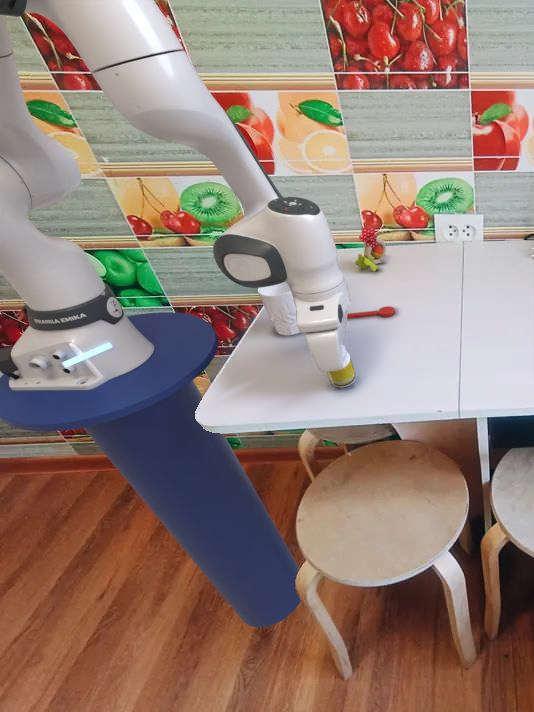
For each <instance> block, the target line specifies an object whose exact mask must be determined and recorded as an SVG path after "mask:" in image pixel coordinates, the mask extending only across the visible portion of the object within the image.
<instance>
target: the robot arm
mask: <svg viewBox="0 0 534 712" xmlns="http://www.w3.org/2000/svg"><path fill="white" fill-rule="evenodd" d="M24 14H37V15H39V16H41V17H43V18H45V19H47V20H49V21H50V22H52V23H53V24H54V25H55V26H56V27H58V28H59V29H60V30H61V32H63V33H64V35H65V36H66V37H67V38H68V40H69V41H70V43H71V44H72V46H73V47H74V48H75V50H76V51H77V53H78V55H79V56H80V58H81V60H82V61H83V63H84V64H85V65H86V68H87V69H88V71H89V72H90V73H91V74H92V77H93V78H94V80H95V81H96V83H97V85H98V86H99V87H100V89H101V91H102V92H103V93H104V95H105V97H106V98H107V99H108V100H109V102H110V104H111V105H112V106H113V107H114V108H115V109H116V111H117V112H118V113H119V114H120V115H121V116H122V118H124V119H125V120H126V121H127V122H128V123H129V124H130V125H131V126H132V127H134V128H135V129H137V130H138V131H140V132H142V133H144V134H146V135H148V136H150V137H153V138H155V139H158V140H161V141H164V142H170V143H173V144H180V145H183V146H186V147H189V148H191V149H194V150H196V151H198V152H199V153H201V154H203V155H204V156H205V157H206V158H207V159H209V161H211V163H212V164H213V165H214V166H215V168H216V169H217V171H218V172H219V174H220V175H221V177H222V178H223V179H224V181H225V182H226V184H227V185H228V186H229V188H230V189H231V191H232V192H233V194H234V195H235V196H236V198H237V199H238V201H239V202H240V204H241V205H242V208H243V217H242V218H241V219H239V221H237V222H234V223H233V224H232V225H231V226H229V227H228V228H227V229H225V230H224V231H223V232H222V233H221V234H220V235H219V236H218V237H217V238H216V240H215V241H214V243H213V247H212V253H213V259H214V262H215V264H216V266H217V267H218V269H220V271H221V273H222V274H223V275H224V276H225V277H226V278H227V279H228V280H230V281H231V282H233V283H235V284H237V285H239V286H242V287H245V288H248V289H258V288H261V287H267V286H273V285H277V284H281V283H283V282H285V283H287V284H288V285H289V287H290V290H291V293H292V296H293V298H294V299H293V300H294V304H295V306H296V320H297V326H298V329H299V331H300V333H299V334H304V338H305V341H306V344H307V347H308V350H309V351H310V354H311V356H312V358H313V360H314V363H315V365H316V367H317V369H318V370H319V371H321V373H327V372H332V371H338V370H341V369H342V368H343V349H342V345H344V347H345V348H346V346H345V344H346V335H347V324H348V319H347V315H348V314H349V313H348V308H349V307H350V305H351V296H350V293H349V290H348V285H347V282H346V279H345V274H344V272H343V271H342V269H341V268H340V265H339V262H338V256H339V255H338V254H339V253H338V249H337V246H336V243H335V242H336V241H335V238H334V237H333V233H332V230H331V227H330V225H329V222H328V220H327V217H326V216H325V214H324V212H323V210H322V208H320V206H318V204H316V203H315V202H313V201H311V200H310V199H307V198H303V197H298V196H286V197H285V196H283V195H282V193H280V192H279V190H278V189H277V187H276V185H275V184H274V182H273V180H272V179H271V177H270V176H269V174H268V173H267V171H266V169H265V168H264V166H263V164H262V163H261V162H260V160H259V158H258V157H257V155H256V153H255V152H254V150H253V149H252V147H251V146H250V144H249V142H248V141H247V140H246V138H245V136H244V135H243V132H241V129H239V127H238V125H237V124H236V122H235V121H234V120H233V119H232V117H231V116H230V114H228V112H227V111H226V110H225V109H224V108H223V107H222V106H221V104H220V103H219V102H218V101H217V100H216V98H215V97H214V96H213V95H212V93H211V92H210V90H209V89H208V87H207V85H206V83H204V81H203V79H202V77H201V76H200V75H199V73H198V71H197V70H196V68H195V67H194V65H193V63H192V61H191V60H190V57H189V56H188V54H187V52H186V51H185V49H184V47H183V45H182V43H181V42H180V40H179V38H178V36H177V34H176V33H175V31H174V29H173V28H172V26H171V24H170V23H169V21H168V20H167V18H166V16H165V14H164V13H163V12H162V11H161V9H160V7H159V6H158V4H157V2H156V1H155V0H0V274H1V275H2V277H4V278H5V280H6V281H7V282H8V283H9V285H10V286H12V288H13V289H14V290H15V291H16V293H17V295H18V296H19V297H20V298H21V299H22V300H23V302H24V303H25V304H24V305H23V306H22V307H21V310H19V311H18V312H17V313H16V314H14V317H18V319H17V321H22V320H23V319H24V318H25V317H27V320H28V325H29V326H28V327H26V329H25V330H24V332H23V333H22V335H21V336H20V337H19V338H18V339H17V341H16V342H15V344H14V345H13V346H9V347H3V348H0V372H1V374H2V375H3V374H5V375H7V376H9V377H11V378H10V380H9V386H10V388H11V389H12V390H13V391H47V390H91V389H94V388H96V387H98V386H100V385H101V384H103V383H105V382H106V381H108V380H110V379H113V378H115V377H118V376H120V375H123V374H125V373H127V372H129V371H131V370H133V369H135V368H137V367H138V366H140V365H141V364H143V363H144V362H145V361H147V360H148V359H149V358H150V356H151V355H152V354H153V352H154V345H153V344H152V343H151V342H150V341H149V340H147V339H146V338H145V337H144V336H143V335H142V334H141V333H140V332H139V331H138V330H137V329H136V328H135V326H134V325H133V324H132V323H131V322H130V320H129V319H128V318H127V315H126V314H125V312H124V310H123V306H122V305H121V303H120V301H119V300H118V298H117V296H116V294H115V293H114V292H113V290H112V288H111V287H110V286H109V284H107V283H106V282H104V281H103V280H102V277H101V276H100V275H99V273H98V271H97V270H96V267H95V266H94V265H93V263H92V261H91V260H90V259H89V257H88V255H87V253H86V252H85V250H84V249H83V248H82V247H81V246H80V245H79V244H78V243H76V242H73V241H71V240H69V239H66V238H65V237H64V238H63V237H60V236H56V235H47V234H44V233H43V232H41V231H40V230H39V229H38V228H37V227H36V226H35V225H34V224H33V223H32V222H31V221H30V219H29V217H28V215H29V214H32V213H34V212H37V211H39V210H42V209H44V208H45V209H46V208H47V207H50V206H52V205H55V204H57V203H59V202H61V201H63V200H64V199H65V198H67V197H68V196H69V195H71V194H72V193H73V192H74V191H75V190H76V189H78V188H79V186H80V185H81V182H82V173H81V169H80V166H79V164H78V161H77V160H76V159H75V157H74V155H73V154H72V152H70V151H69V150H68V148H67V147H66V146H64V145H63V144H62V143H61V142H59V141H58V140H57V139H55V138H54V137H52V136H51V135H49V134H46V133H44V132H43V130H41V128H40V127H39V125H38V124H37V123H36V122H35V119H34V118H33V116H32V114H31V113H30V110H29V108H28V105H27V102H26V99H25V95H24V91H23V87H22V83H21V79H20V75H19V70H18V66H17V62H16V58H15V52H14V48H13V44H12V40H11V36H10V31H9V27H8V20H7V17H16V18H18V17H19V18H21V17H22V16H23V15H24ZM14 371H15V372H14ZM11 372H14V373H11Z"/></svg>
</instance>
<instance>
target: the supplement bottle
mask: <svg viewBox="0 0 534 712" xmlns="http://www.w3.org/2000/svg"><path fill="white" fill-rule="evenodd" d="M342 349H343V368H342V369H341V370H338V371H332V372H326V375H327V377H328V379H329V381H330V383H331V384H332V386H334V387H336V388H346V387H347V388H348V387H350V386H351V385H352V384H353V383H354V382H355V381H356V378H357V373H356V370H355V367H354V363H353V360H352V358H351V355H350V353H349V352H348V350H347V349H346V346H345V347H344V345H342Z"/></svg>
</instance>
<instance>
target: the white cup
mask: <svg viewBox="0 0 534 712" xmlns="http://www.w3.org/2000/svg"><path fill="white" fill-rule="evenodd" d="M257 293H258V295H259V298H260V300H261V302H262V304H263V307H264V309H265V311H266V313H267V315H268V317H269V319H270V321H271V323H272V324H273V327H274V330H275V331H276V333H278V334H279V335H281V336H295V335H298V334H301V333H300V331H299V329H298V326H297V320H296V306H295V304H294V300H293V299H294V298H293V296H292V293H291V290H290V287H289V285H288V284H287V283H285V282H283V283H281V284H277V285H273V286H267V287H261V288H257Z"/></svg>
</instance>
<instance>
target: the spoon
mask: <svg viewBox="0 0 534 712" xmlns="http://www.w3.org/2000/svg"><path fill="white" fill-rule="evenodd" d="M347 314H348V315H347V320H348V319H356V318H366V317H376V316H380V317H382V318H389V317H392V316H394V315H395V314H396V311H395V308H394V307H393V306H388V305H387V306H383V307H381V308H378V310H371V311H362V312H361V311H360V312H352V313H347Z"/></svg>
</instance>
